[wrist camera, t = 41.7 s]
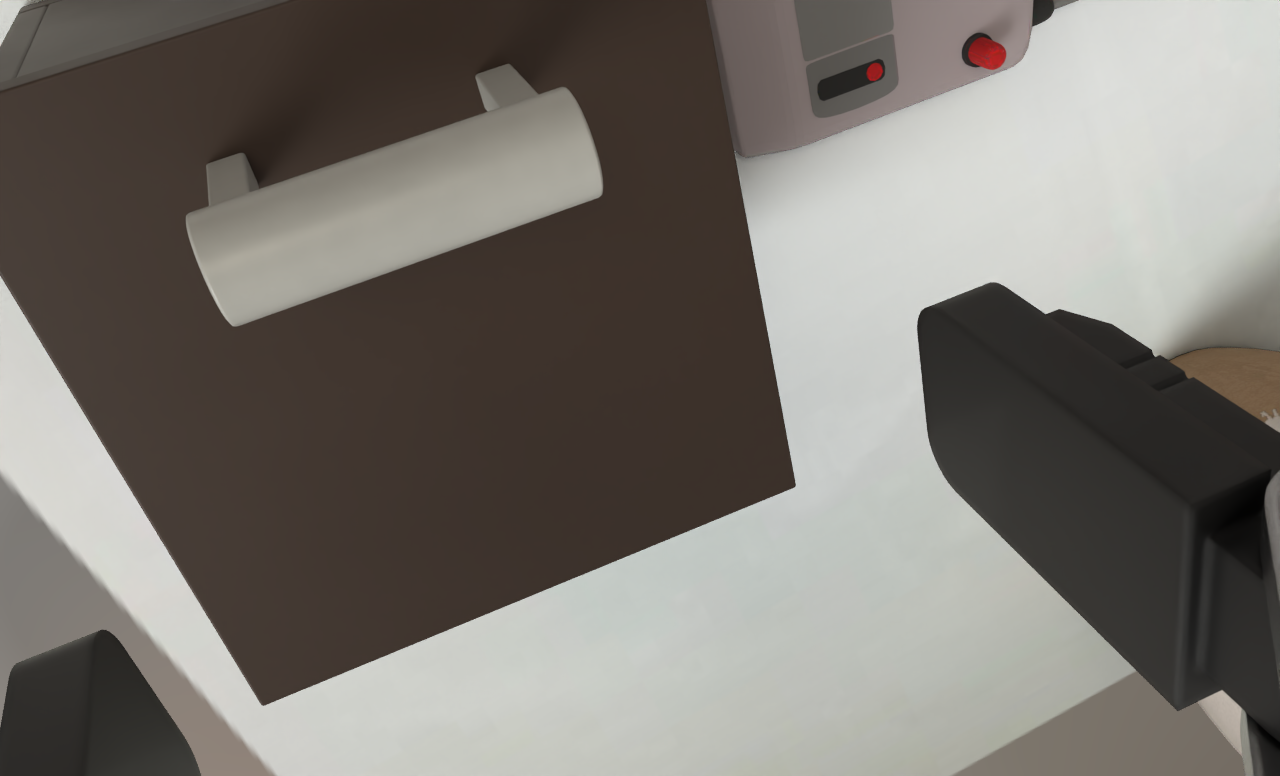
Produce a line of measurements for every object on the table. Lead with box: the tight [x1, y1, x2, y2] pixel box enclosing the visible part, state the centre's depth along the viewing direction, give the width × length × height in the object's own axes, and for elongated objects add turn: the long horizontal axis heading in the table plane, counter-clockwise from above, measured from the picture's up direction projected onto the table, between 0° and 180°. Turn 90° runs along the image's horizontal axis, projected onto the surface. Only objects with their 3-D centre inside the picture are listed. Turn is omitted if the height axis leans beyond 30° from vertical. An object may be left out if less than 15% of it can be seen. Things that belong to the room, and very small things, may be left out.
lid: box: [0, 0, 796, 706], centre depth 22 cm, size 14×14×6 cm
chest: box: [0, 0, 263, 82], centre depth 29 cm, size 14×14×12 cm
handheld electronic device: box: [706, 0, 1078, 158], centre depth 36 cm, size 7×16×3 cm, turn 104°
